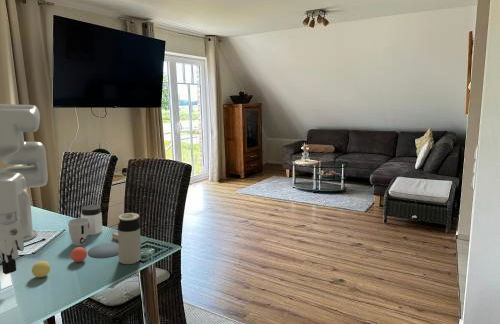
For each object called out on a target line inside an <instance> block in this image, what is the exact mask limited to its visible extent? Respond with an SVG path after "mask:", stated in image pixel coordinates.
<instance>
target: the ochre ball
mask: <svg viewBox="0 0 500 324" xmlns="http://www.w3.org/2000/svg"><path fill="white" fill-rule="evenodd" d="M50 272H51V265H50V264H49V262H48V261H46V260H39V261H37V262H36V263H34V264H33V266H32V268H31V273H32V275H33V276H34V277H35V278H43V277H46V276H48V275H49V273H50Z"/></svg>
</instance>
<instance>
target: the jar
mask: <svg viewBox="0 0 500 324" xmlns="http://www.w3.org/2000/svg"><path fill="white" fill-rule="evenodd" d="M80 211H81V213H80V218H87V219H89V234H88V236H96V235H98V234H100V233H102V232H103V217H102V216H103V215H102V212H101V211H102V210H101V206H100V205H98V204H88V205H84V206H82V207H81V208H80Z"/></svg>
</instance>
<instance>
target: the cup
mask: <svg viewBox="0 0 500 324" xmlns="http://www.w3.org/2000/svg"><path fill="white" fill-rule="evenodd" d="M67 226H68V233H69V235H70V236H69V237H70V240H71V242H72V244H73V246H78V247H81V246H84V245H86V244H87V241H88V239H89V235H88V234H89V219H87V218H81V217H76V218H72V219H70V220H68V221H67Z"/></svg>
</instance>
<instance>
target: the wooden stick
mask: <svg viewBox="0 0 500 324" xmlns="http://www.w3.org/2000/svg"><path fill="white" fill-rule="evenodd" d="M111 235H112V237H111V238H112V240H115V241H117V242H118V231H117V232H113V233H112V234H111ZM140 247H142V241H141V239H140Z"/></svg>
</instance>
